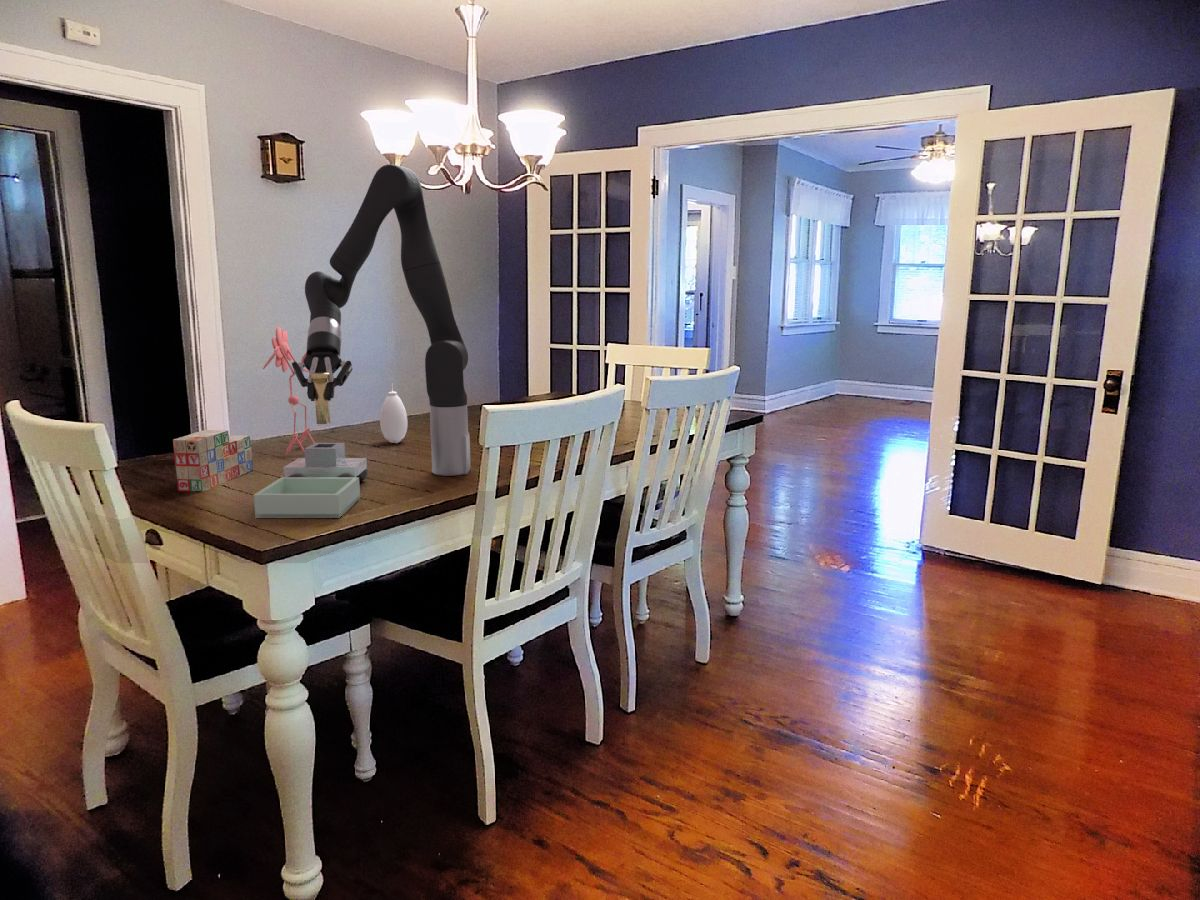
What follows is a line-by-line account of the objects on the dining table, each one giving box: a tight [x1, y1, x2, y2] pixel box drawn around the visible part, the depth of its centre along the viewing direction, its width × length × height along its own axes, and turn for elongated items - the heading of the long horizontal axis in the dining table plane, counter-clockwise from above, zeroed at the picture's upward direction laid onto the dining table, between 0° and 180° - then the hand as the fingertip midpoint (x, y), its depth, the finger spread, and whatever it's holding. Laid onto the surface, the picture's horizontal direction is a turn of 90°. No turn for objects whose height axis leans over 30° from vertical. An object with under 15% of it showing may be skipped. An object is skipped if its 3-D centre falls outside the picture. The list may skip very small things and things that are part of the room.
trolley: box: [282, 442, 369, 483], centre depth 188 cm, size 16×13×10 cm
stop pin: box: [310, 372, 331, 425], centre depth 185 cm, size 4×4×12 cm
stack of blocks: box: [172, 429, 254, 493], centre depth 195 cm, size 21×6×12 cm, turn 173°
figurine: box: [262, 326, 316, 456], centre depth 226 cm, size 15×26×35 cm, turn 0°
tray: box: [253, 476, 361, 519], centre depth 171 cm, size 17×15×5 cm
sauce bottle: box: [379, 383, 408, 444], centre depth 240 cm, size 8×8×18 cm
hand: (320, 398), depth 183 cm, fingers closed on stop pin, 3 cm apart
